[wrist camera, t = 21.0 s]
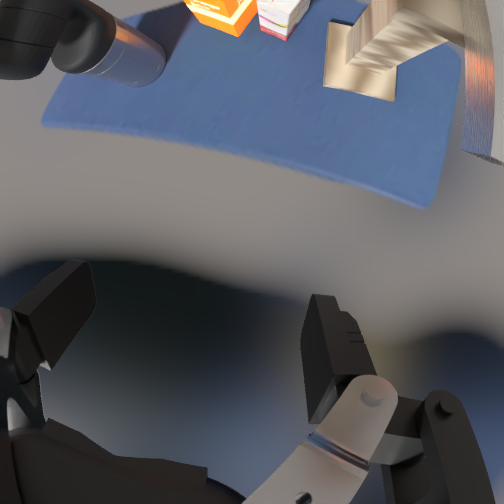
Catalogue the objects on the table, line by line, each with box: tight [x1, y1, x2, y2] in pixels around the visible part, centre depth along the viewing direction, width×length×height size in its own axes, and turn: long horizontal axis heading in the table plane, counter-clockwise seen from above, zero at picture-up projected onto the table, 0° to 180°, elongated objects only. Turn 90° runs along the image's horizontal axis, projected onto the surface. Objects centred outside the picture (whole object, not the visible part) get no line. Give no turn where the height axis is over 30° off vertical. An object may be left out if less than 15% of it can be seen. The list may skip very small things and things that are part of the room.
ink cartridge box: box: [257, 0, 310, 41], centre depth 28 cm, size 9×5×15 cm, turn 152°
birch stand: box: [323, 0, 465, 102], centre depth 22 cm, size 12×12×32 cm
